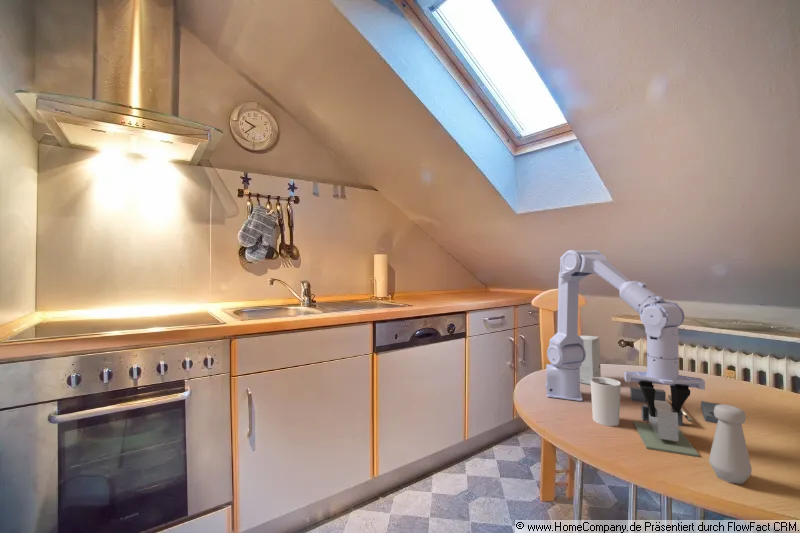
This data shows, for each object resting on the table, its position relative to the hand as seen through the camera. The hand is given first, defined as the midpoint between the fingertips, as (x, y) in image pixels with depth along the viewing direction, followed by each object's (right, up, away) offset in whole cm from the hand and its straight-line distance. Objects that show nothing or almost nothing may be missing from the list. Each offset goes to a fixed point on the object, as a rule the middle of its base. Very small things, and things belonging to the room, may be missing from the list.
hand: (663, 416), depth 80 cm
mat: (0, -5, 0) cm, 5 cm away
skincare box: (+4, -5, +40) cm, 40 cm away
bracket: (+22, -5, +12) cm, 25 cm away
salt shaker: (+1, -5, -15) cm, 16 cm away
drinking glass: (-8, -5, +9) cm, 13 cm away
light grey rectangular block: (0, -4, 0) cm, 4 cm away
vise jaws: (+9, -5, +15) cm, 18 cm away
